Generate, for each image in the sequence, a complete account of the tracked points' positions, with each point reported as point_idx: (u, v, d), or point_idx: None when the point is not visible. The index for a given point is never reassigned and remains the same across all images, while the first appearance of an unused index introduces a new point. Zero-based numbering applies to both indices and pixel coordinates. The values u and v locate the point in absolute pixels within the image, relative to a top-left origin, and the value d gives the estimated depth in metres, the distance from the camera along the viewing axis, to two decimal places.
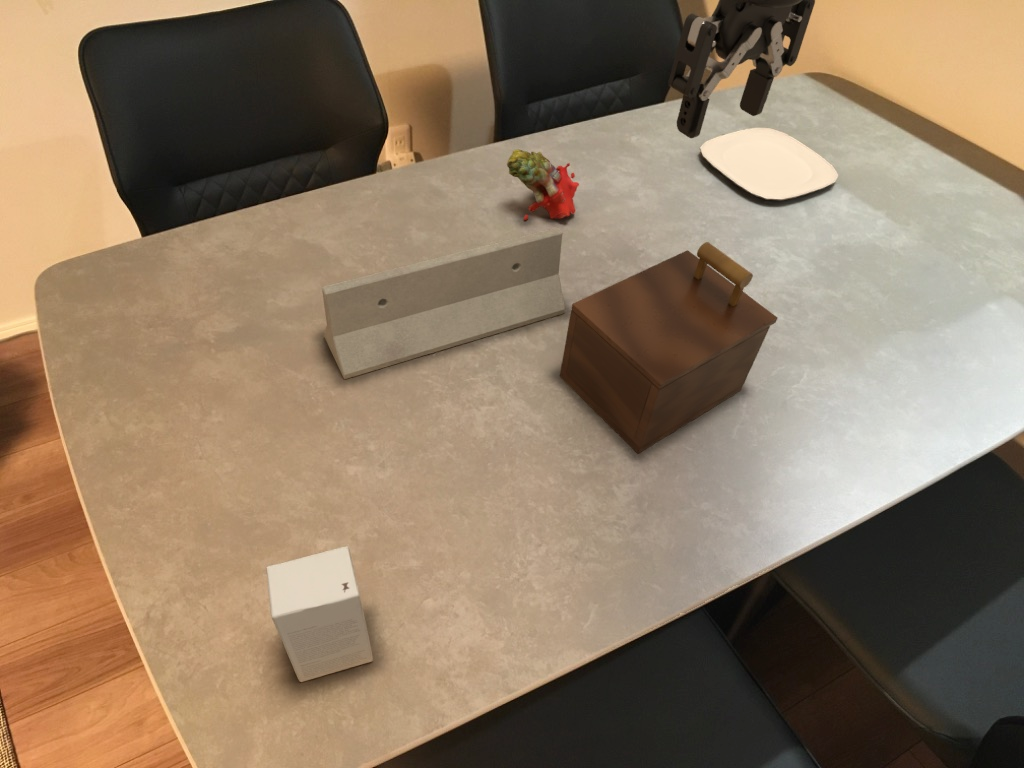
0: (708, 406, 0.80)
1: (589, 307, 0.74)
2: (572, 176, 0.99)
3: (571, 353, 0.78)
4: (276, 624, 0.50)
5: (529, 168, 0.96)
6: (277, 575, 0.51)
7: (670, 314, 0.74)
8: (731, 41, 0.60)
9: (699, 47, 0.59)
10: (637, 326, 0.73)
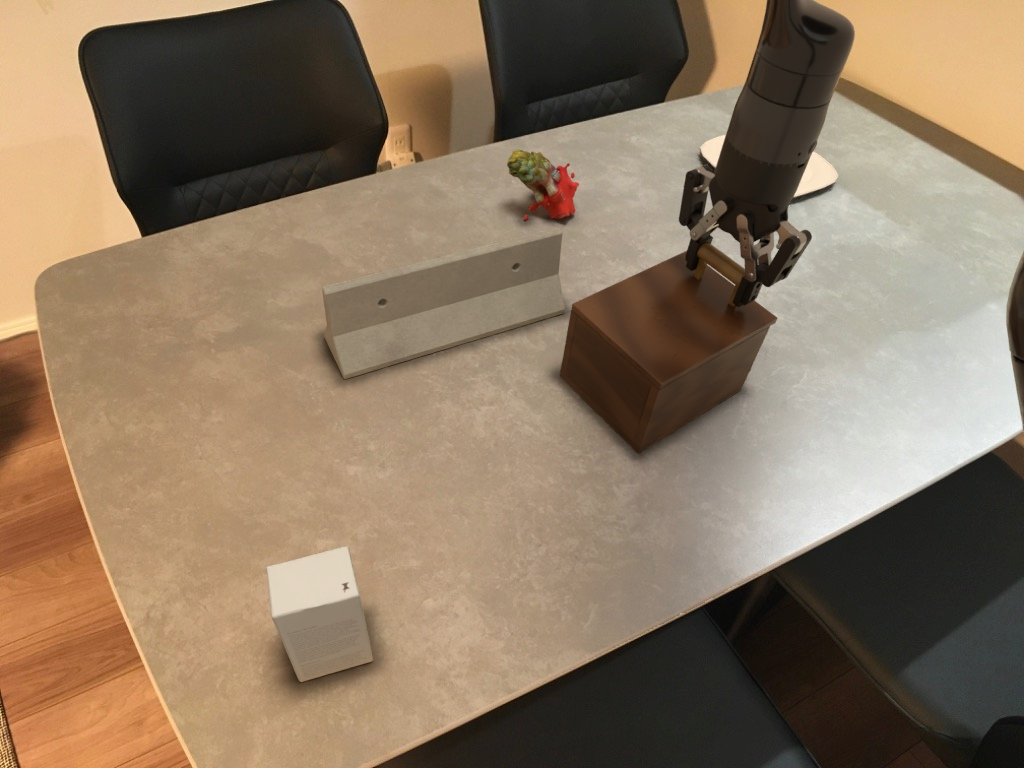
0: (708, 406, 0.80)
1: (589, 307, 0.74)
2: (572, 176, 0.99)
3: (571, 353, 0.78)
4: (276, 624, 0.50)
5: (529, 168, 0.96)
6: (277, 575, 0.51)
7: (670, 314, 0.74)
8: (711, 199, 0.71)
9: None
10: (637, 326, 0.73)
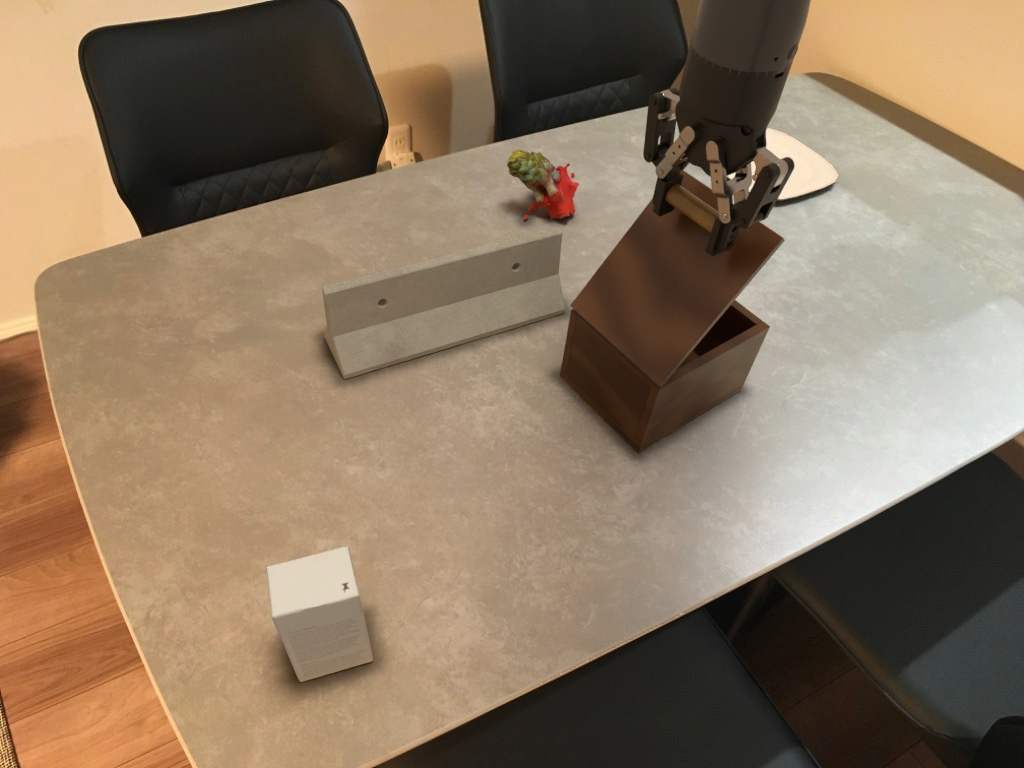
0: (708, 406, 0.80)
1: (585, 304, 0.73)
2: (572, 176, 0.99)
3: (571, 353, 0.78)
4: (276, 624, 0.50)
5: (529, 169, 0.96)
6: (277, 575, 0.51)
7: (663, 282, 0.69)
8: (678, 126, 0.60)
9: None
10: (631, 314, 0.70)
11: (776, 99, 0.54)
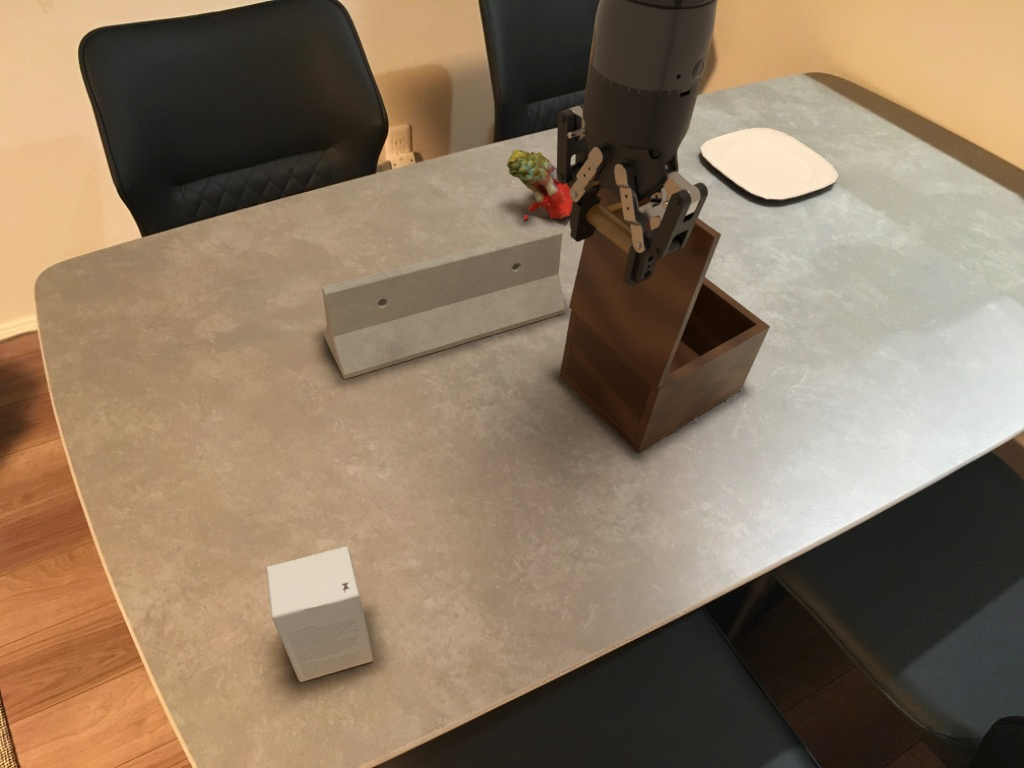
0: (708, 406, 0.80)
1: (579, 307, 0.73)
2: None
3: (571, 353, 0.78)
4: (276, 624, 0.50)
5: (529, 168, 0.96)
6: (277, 575, 0.51)
7: None
8: (588, 146, 0.55)
9: None
10: (616, 317, 0.69)
11: (685, 119, 0.49)
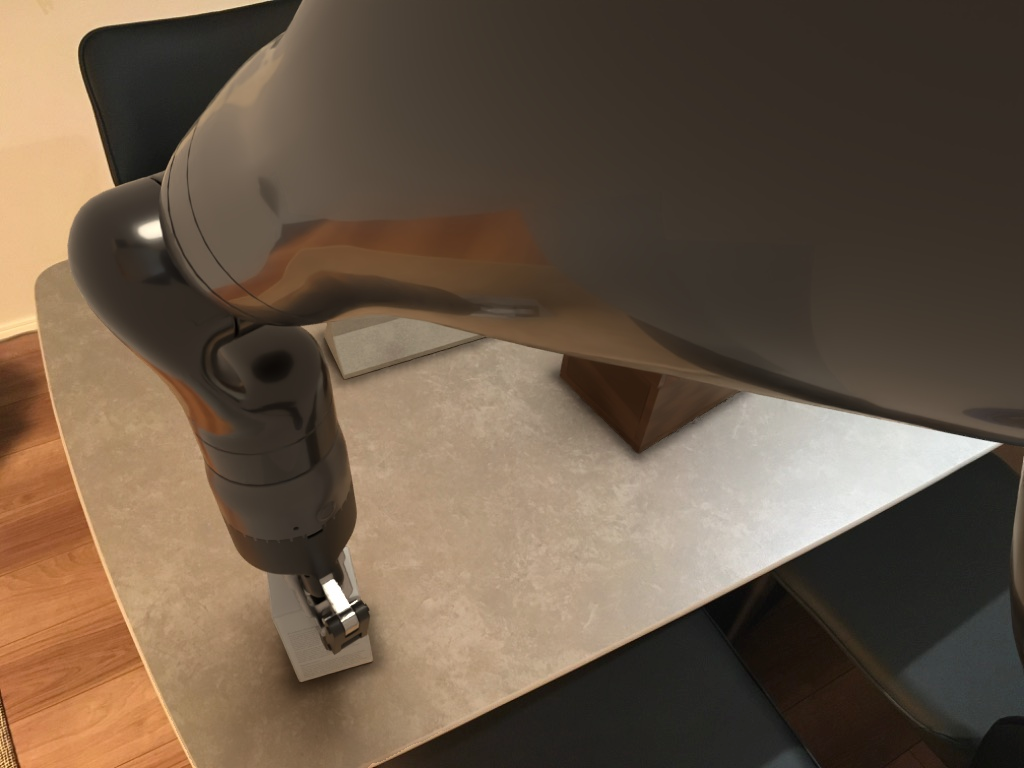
0: (708, 406, 0.80)
1: None
2: None
3: None
4: (276, 624, 0.50)
5: None
6: (277, 575, 0.51)
7: None
8: None
9: None
10: None
11: (332, 544, 0.43)
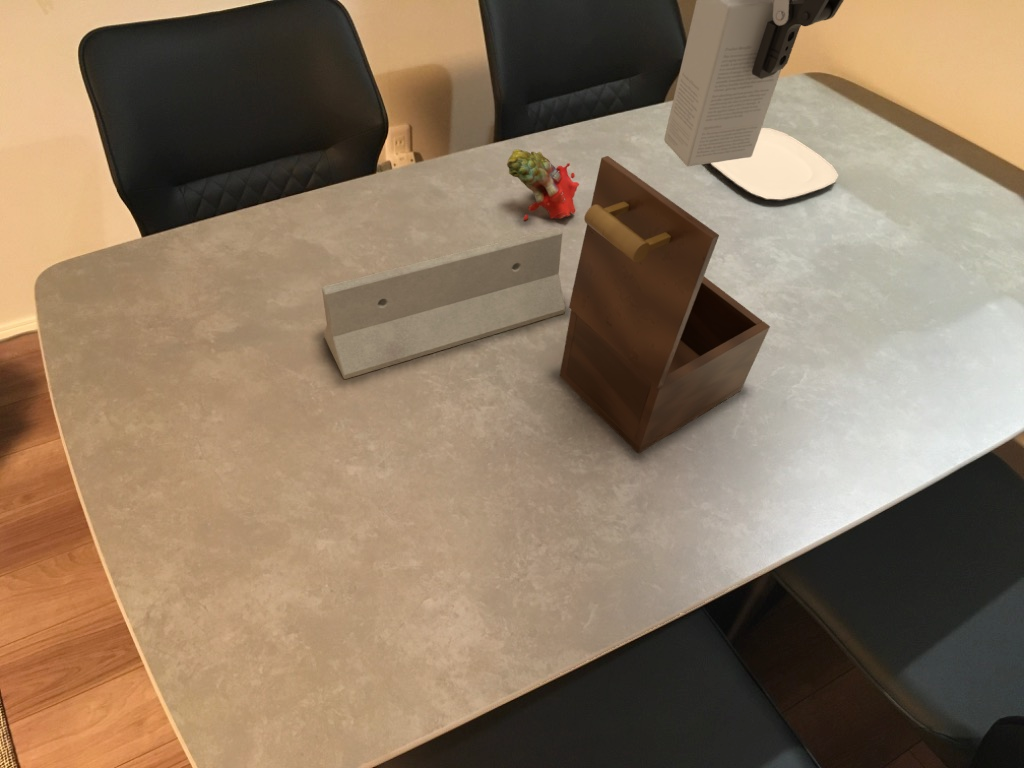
0: (708, 406, 0.80)
1: (579, 307, 0.73)
2: (572, 176, 0.99)
3: (571, 353, 0.78)
4: (726, 23, 0.49)
5: (529, 168, 0.96)
6: None
7: (629, 286, 0.66)
8: None
9: None
10: (615, 317, 0.69)
11: None
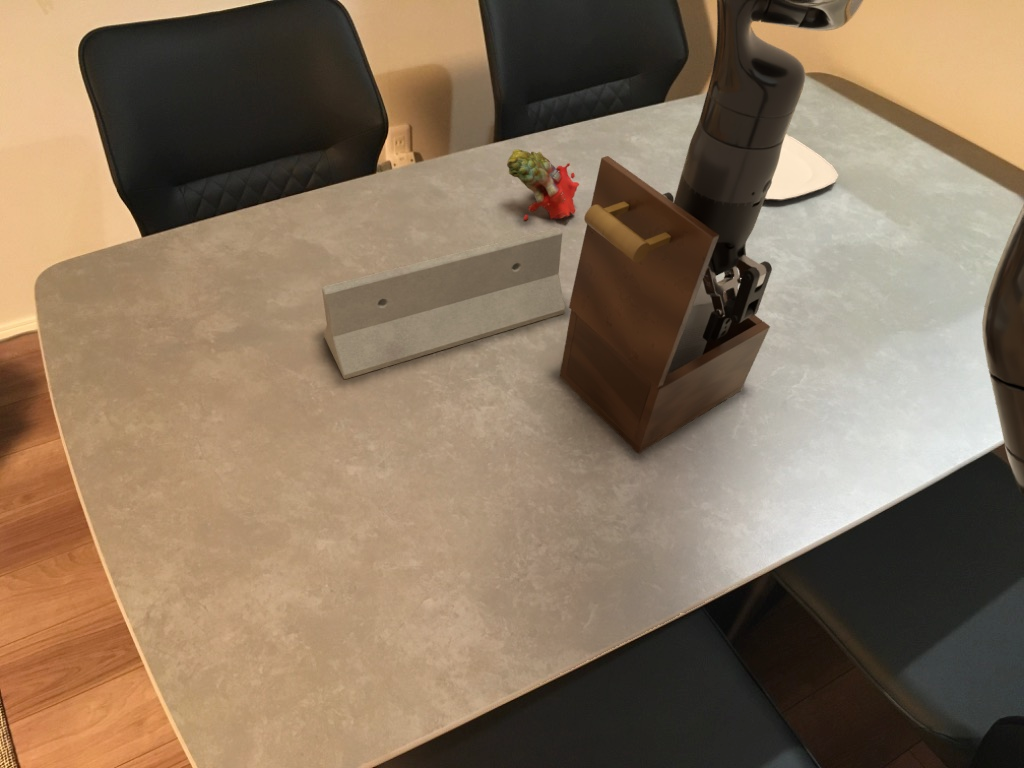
0: (708, 406, 0.80)
1: (579, 307, 0.73)
2: (572, 176, 0.99)
3: (571, 353, 0.78)
4: None
5: (529, 168, 0.96)
6: None
7: (629, 286, 0.66)
8: None
9: None
10: (615, 317, 0.69)
11: (754, 220, 0.64)
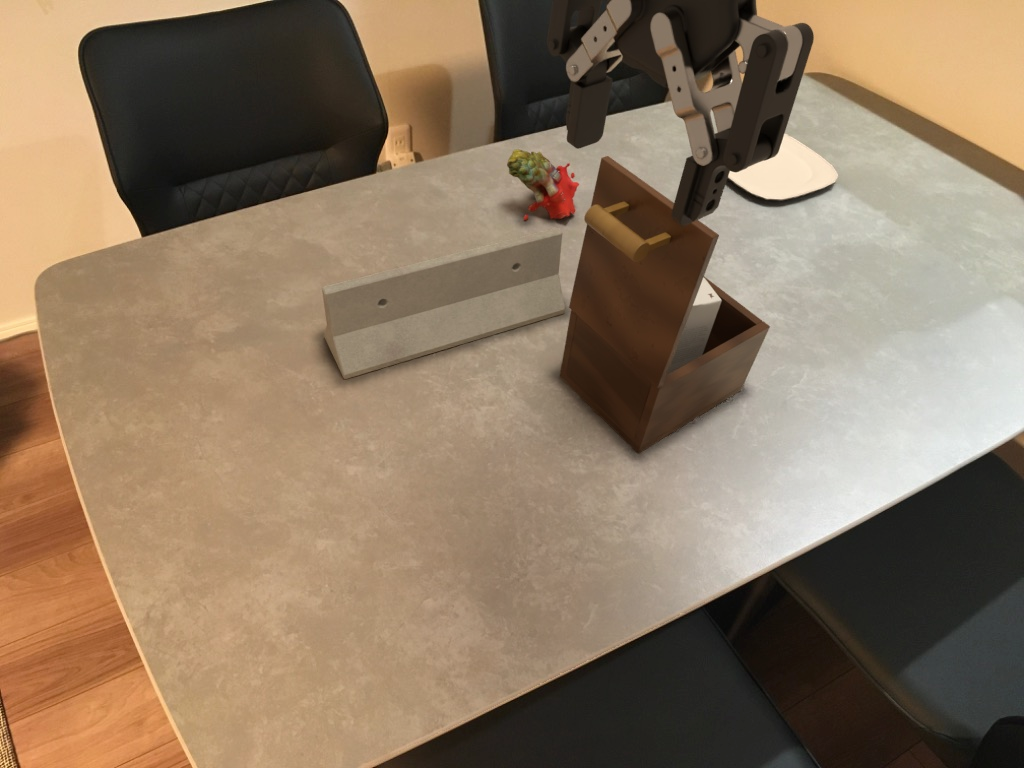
0: (708, 406, 0.80)
1: (579, 307, 0.73)
2: (572, 176, 0.99)
3: (571, 353, 0.78)
4: None
5: (529, 168, 0.96)
6: None
7: (629, 286, 0.66)
8: (606, 0, 0.35)
9: None
10: (615, 317, 0.69)
11: None
